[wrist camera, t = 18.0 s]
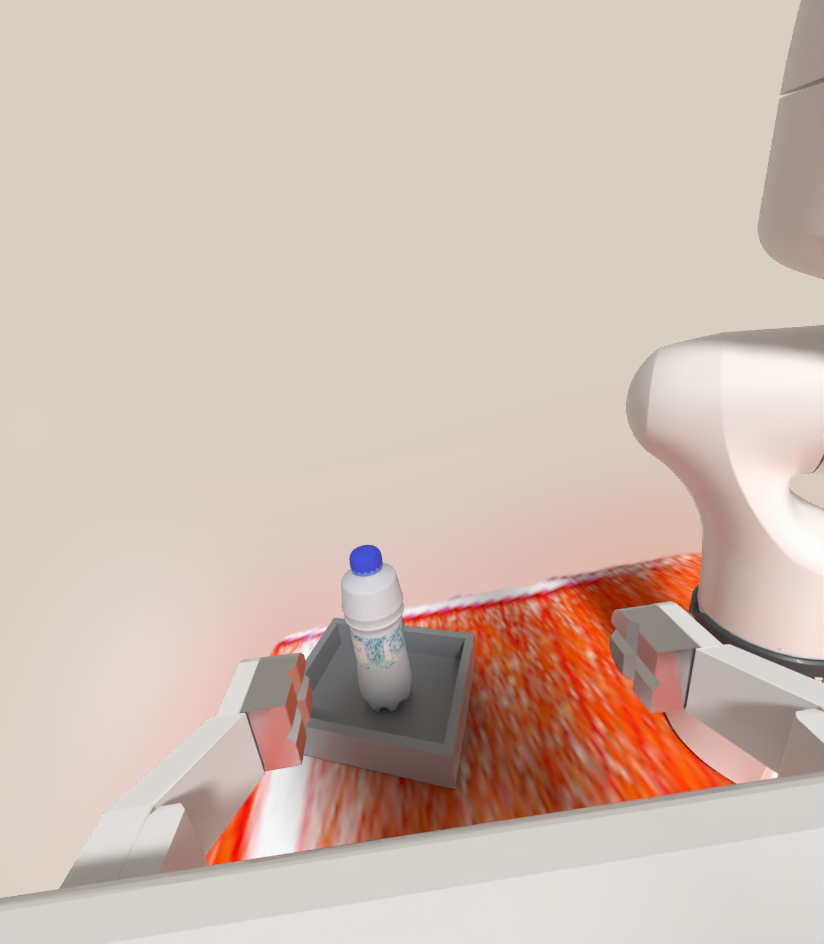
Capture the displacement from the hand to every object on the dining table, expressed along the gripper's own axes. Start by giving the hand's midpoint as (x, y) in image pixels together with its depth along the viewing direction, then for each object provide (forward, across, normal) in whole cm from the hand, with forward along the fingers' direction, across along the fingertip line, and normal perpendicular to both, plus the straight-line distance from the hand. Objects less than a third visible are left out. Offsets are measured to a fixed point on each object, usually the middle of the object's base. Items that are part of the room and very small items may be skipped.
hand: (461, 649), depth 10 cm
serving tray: (+28, +6, +34) cm, 44 cm away
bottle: (+28, +6, +33) cm, 44 cm away
